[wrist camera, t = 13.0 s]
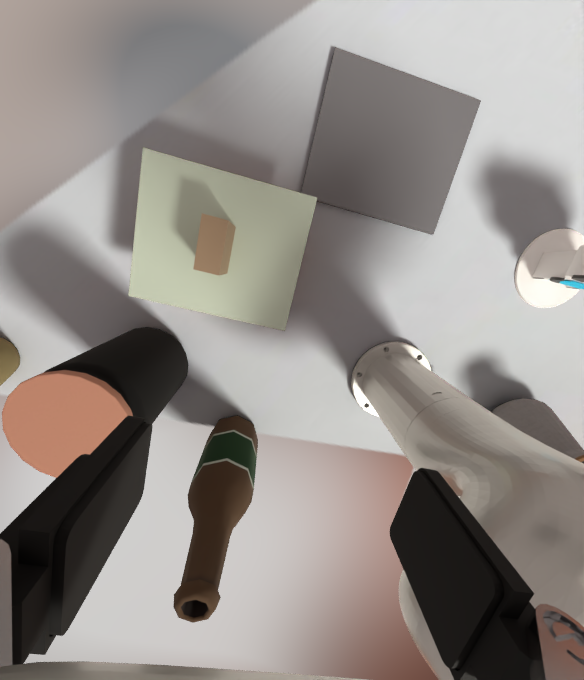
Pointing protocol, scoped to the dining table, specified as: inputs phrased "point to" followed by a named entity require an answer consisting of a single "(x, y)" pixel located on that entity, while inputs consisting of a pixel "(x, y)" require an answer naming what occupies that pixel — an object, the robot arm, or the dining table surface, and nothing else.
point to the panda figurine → (551, 268)
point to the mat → (387, 143)
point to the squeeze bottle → (7, 360)
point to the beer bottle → (216, 512)
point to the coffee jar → (92, 397)
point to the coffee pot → (540, 425)
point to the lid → (217, 241)
